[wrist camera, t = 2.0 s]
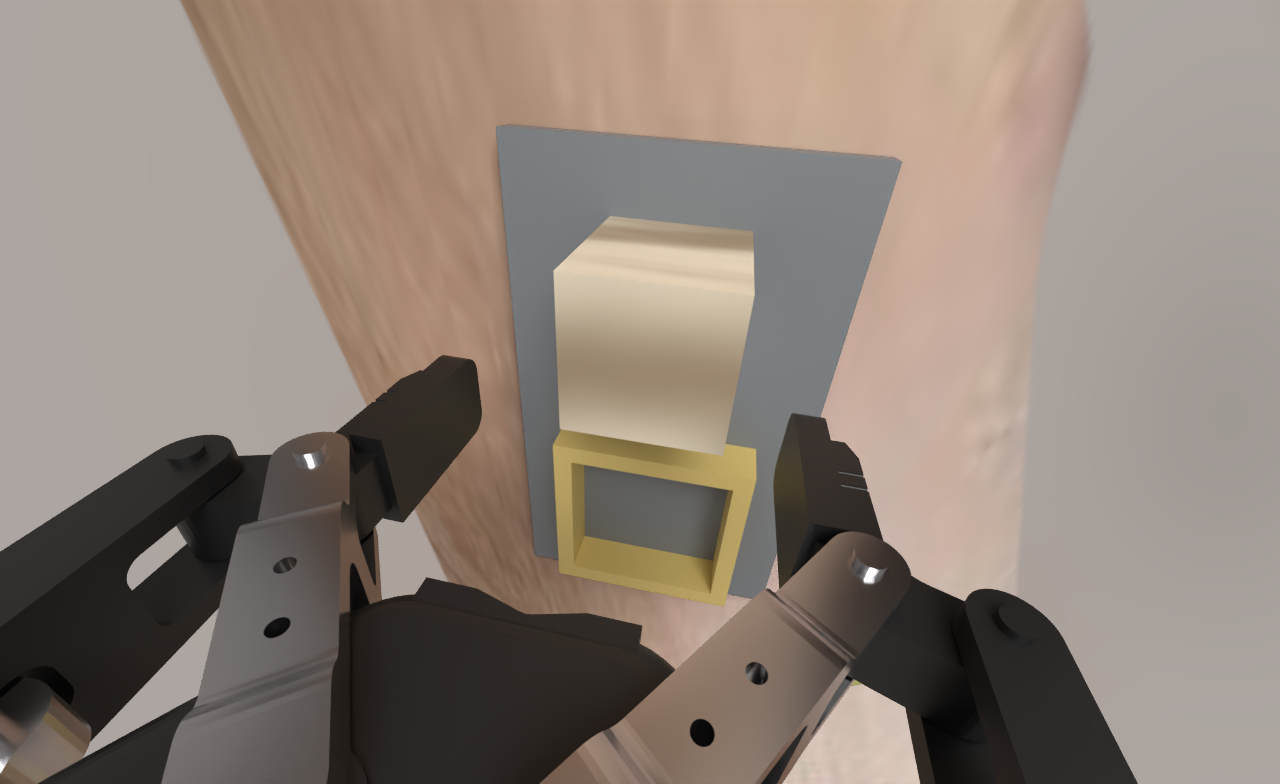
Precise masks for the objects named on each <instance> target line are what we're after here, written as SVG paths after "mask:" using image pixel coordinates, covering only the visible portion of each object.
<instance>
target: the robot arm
mask: <svg viewBox="0 0 1280 784" xmlns="http://www.w3.org/2000/svg"><path fill="white" fill-rule="evenodd" d="M481 416H482V408H481V400H480V392H479V383H478V375H477V368H476V364H475V362H474V361H473V360H471V359H465V358H459V357H452V356H446V355H442V356H440V357H439V358H438V359H436V360H435V361H434V362H433V363H432V364H431V365H429V366H428V367H427V368H426V369H425V370H423V371H421V370H420V371H418V372H416V373H413V374H411V375H409V376H407V377H404V378H402V379H400V380H399V381H398V382H397V383H395V384H394V385H393V386H392V387H390V388H389V389H388V390H387V393H383V394H382V395H381V396H379V397H378V398H377V399H376V402H372V403H371V404H370V405H368V406H367V407H366V408H365V409H364V410H363V411H361V412H360V413H359V414H357V415H356V416H355V417H354V418H353V419H351V420H350V421H349V422H348V423H346V425H344V426H343V427H341V428H340V429H339V430H338V431H337V432H335V433H333V432H317V433H311V434H306V435H303V436H300V437H297V438H295V439H292V440H290V441H288V442H286V443H285V444H284V445H282V446H280V447H279V448H278V449H277V450H276V451H275V452H274V453H273V454H272V455H254V456H253V455H252V456H238V455H237V453H236V450H235V448H234V446H233V444H232V442H231V441H230V440H229V439H228V438H226V437H224V436H219V435H202V436H195V437H190V438H186V439H182V440H179V441H176V442H174V443H171V444H169V445H167V446H165V447H163V448H161V449H159V450H157V451H156V452H154V453H153V454H151V455H150V456H148V457H146V458H145V459H143V460H142V461H140V462H139V463H137V464H135V465H134V466H132V467H131V468H129V469H128V470H126V471H125V472H123V473H122V474H120V475H118V476H117V477H115V478H114V479H112V480H111V481H109V482H108V483H106V484H105V485H103V486H101V487H100V488H98V489H97V490H95V491H94V492H92V493H91V494H89V495H87V496H86V497H84V498H83V499H81V500H80V501H78V502H77V503H75V504H74V505H72V506H70V507H69V508H67V509H66V510H64V511H63V512H61V513H60V514H58V515H57V516H55V517H53V518H52V519H50V520H49V521H47V522H46V523H44V524H43V525H41V526H39V527H38V528H36V529H35V530H33V531H32V532H30V533H29V534H27V535H25V536H24V537H22V538H21V539H19V540H18V541H16V542H15V543H13V544H12V545H10V546H9V547H7V548H5V549H4V550H2V551H1V552H0V784H782V783H783V781H784V780H785V779H786V777H787V776H788V774H789V773H790V771H791V770H792V768H793V767H794V765H795V763H796V762H797V760H798V759H799V757H800V756H801V754H802V753H803V751H804V750H805V748H806V747H807V745H808V744H809V743H810V741H811V740H812V738H813V737H814V736H815V734H816V733H817V732H818V730H819V729H820V727H821V726H822V725H823V723H824V722H825V721H826V719H827V718H828V716H829V715H830V714H831V712H832V711H833V710H834V708H835V707H836V705H837V704H838V703H839V701H840V700H841V699H842V697H843V696H844V694H845V693H846V692H847V690H848V689H849V688H850V686H851V685H852V683H853V682H854V681H855V680H856V681H858V682H860V683H862V684H863V685H865V686H867V687H869V688H871V689H873V690H874V691H876V692H878V693H880V694H882V695H884V696H885V697H887V698H889V699H891V700H893V701H895V702H896V703H898V704H900V705H902V706H904V707H905V708H906V713H907V718H908V723H909V728H910V733H911V739H912V744H913V749H914V754H915V759H916V764H917V769H918V774H919V779H920V784H1138V783H1137V781H1136V779H1135V777H1134V775H1133V773H1132V771H1131V770H1130V768H1129V766H1128V764H1127V762H1126V760H1125V758H1124V756H1123V754H1122V752H1121V750H1120V748H1119V746H1118V744H1117V742H1116V740H1115V738H1114V736H1113V735H1112V732H1111V731H1110V729H1109V727H1108V725H1107V723H1106V721H1105V719H1104V717H1103V715H1102V713H1101V711H1100V709H1099V707H1098V705H1097V703H1096V701H1095V700H1094V697H1093V695H1092V694H1091V692H1090V690H1089V688H1088V686H1087V684H1086V682H1085V680H1084V678H1083V676H1082V674H1081V672H1080V670H1079V668H1078V666H1077V664H1076V662H1075V660H1074V658H1073V656H1072V655H1071V653H1070V651H1069V649H1068V647H1067V645H1066V643H1065V641H1064V639H1063V637H1062V636H1061V634H1060V633H1059V631H1058V630H1057V628H1056V627H1055V626H1054V625H1053V624H1052V623H1051V622H1050V621H1049V620H1048V618H1047V617H1045V616H1044V615H1043V614H1042V613H1041V612H1040V611H1038V610H1037V609H1036V608H1034V607H1033V606H1031V605H1030V604H1028V603H1027V602H1025V601H1024V600H1022V599H1020V598H1018V597H1016V596H1013V595H1011V594H1009V593H1006V592H1003V591H999V590H994V589H979V590H976V591H973V592H972V593H971V594H969V596H968V597H967V599H966V600H965V601H963V600H960V599H958V598H956V597H954V596H951V595H949V594H947V593H945V592H942V591H940V590H938V589H936V588H933V587H931V586H929V585H927V584H925V583H923V582H921V581H919V580H918V579H916V578H914V577H913V576H911V572H910V569H909V567H908V565H907V563H906V561H905V560H904V558H903V557H902V556H901V555H900V554H899V553H898V552H897V551H896V550H895V549H894V548H893V547H892V546H890V545H889V544H887V543H886V542H884V541H883V538H882V535H881V531H880V528H879V525H878V521H877V518H876V515H875V511H874V508H873V505H872V501H871V498H870V495H869V492H867V489H868V488H867V485H866V481H865V478H863V471H862V468H861V465H860V461H859V458H858V457H857V456H856V455H855V454H854V452H853V451H852V450H851V449H850V448H849V447H848V446H847V444H846V443H844V442H838V441H832V440H831V439H830V435H829V431H828V427H827V422H826V419H825V418H821V417H815V416H809V415H803V414H797V413H792V414H791V416H790V418H789V421H788V425H787V428H786V431H785V435H784V438H783V442H782V445H781V449H780V452H779V456H778V459H777V463H776V467H775V473H774V481H773V492H774V509H775V526H776V542H777V559H778V575H779V590H778V591H777V592H775V593H774V592H772V591H771V590H770V589H764V590H763V591H761V592H760V593H758V594H757V595H756V596H755V597H754V598H753V599H752V600H751V601H749V602H748V603H747V604H746V605H745V606H744V607H743V608H742V609H741V610H740V611H739V612H738V613H737V614H735V615H734V616H733V617H732V618H731V619H730V620H729V621H728V622H727V623H726V624H725V625H724V626H723V627H721V628H720V629H719V630H718V631H717V632H716V633H715V634H714V635H713V636H712V637H711V638H710V639H709V640H707V641H706V642H705V643H704V644H703V645H702V646H701V647H700V648H699V649H698V650H697V651H696V652H694V653H693V654H692V655H691V656H690V657H689V658H688V659H687V660H686V661H685V662H684V663H683V664H682V665H680V666H679V667H678V668H677V669H676V670H675V669H674V668H673V667H672V666H671V665H670V664H669V663H668V662H666V661H665V660H664V659H663V658H662V657H660V656H659V655H657V654H656V653H655V652H653V651H652V650H650V649H648V648H646V647H645V646H643V645H641V644H640V640H641V632H642V626H641V625H637V624H632V623H628V622H623V621H619V620H615V619H610V618H606V617H601V616H597V615H592V614H588V613H579V614H534V615H531V614H524V613H522V612H519V611H518V610H516V609H514V608H512V607H510V606H508V605H506V604H505V603H503V602H501V601H499V600H497V599H495V598H493V597H492V596H490V595H488V594H486V593H484V592H482V591H480V590H479V589H476V588H472V587H467V586H463V585H458V584H454V583H449V582H445V581H440V580H436V579H431V578H426V579H425V580H424V582H423V584H422V585H421V586H420V588H419V589H418V591H417V592H416V594H414V595H404V596H397V597H393V598H389V599H385V600H382V596H381V582H380V565H379V549H378V535H377V531H376V528H375V526H376V525H377V524H378V523H379V521H380V520H381V519H382V518H384V519H388V520H393V521H398V522H404V521H405V520H406V519H407V517H408V516H409V515H410V514H411V512H412V511H413V510H414V509H415V507H416V506H417V505H418V504H419V503H420V501H421V500H422V499H423V498H424V496H425V495H426V494H427V493H428V491H429V490H430V489H431V488H432V486H433V485H434V484H435V483H436V481H437V480H438V479H439V478H440V477H441V475H442V474H443V473H444V472H445V470H446V469H447V468H448V467H449V465H450V464H451V463H452V462H453V460H454V459H455V458H456V457H457V456H458V454H459V453H460V452H461V451H462V449H463V448H464V447H465V446H466V444H467V443H468V442H469V441H470V439H471V438H472V437H473V436H474V434H475V433H476V432H477V430H478V428H479V425H480V422H481ZM175 526H177V528H178V529H179V531H180V533H181V534H182V536H183V538H184V539H185V540H186V542H187V544H186V545H185V546H184V547H183V548H181V549H180V550H179V551H178V552H177V553H176V554H174V555H173V556H172V557H171V558H170V559H169V560H167V561H166V562H165V563H164V564H163V565H162V566H160V567H159V568H158V569H157V570H156V571H155V572H153V573H152V574H151V575H150V576H149V577H148V578H146V579H145V580H144V581H143V582H142V583H141V584H139V585H138V586H137V587H136V588H135V589H134V590H131V589H130V588H129V586H128V584H127V573H128V570H129V568H130V566H131V564H132V563H133V561H134V560H135V559H136V558H137V557H138V556H139V555H140V554H141V553H143V552H144V551H145V550H146V549H148V548H149V547H150V546H151V545H153V544H154V543H155V542H156V541H158V540H159V539H160V538H161V537H163V536H164V535H165V534H166V533H167V532H168V531H170V530H171V529H172V528H174V527H175ZM218 608H219V610H218V614H217V619H216V623H215V627H214V631H213V636H212V640H211V644H210V648H209V653H208V657H207V661H206V665H205V669H204V674H203V678H202V682H201V686H200V690H199V695H198V696H196V697H195V698H193V699H191V700H189V701H187V702H185V703H184V704H182V705H180V706H178V707H176V708H174V709H172V710H171V711H169V712H167V713H165V714H163V715H161V716H160V717H158V718H156V719H154V720H152V721H151V722H149V723H147V724H145V725H143V726H141V727H139V728H138V729H136V730H134V731H132V732H130V733H129V734H127V735H125V736H123V737H121V738H119V739H118V740H116V741H114V742H112V743H110V744H108V745H106V746H105V747H103V748H101V749H100V750H97V751H95V752H94V753H92V754H90V755H88V756H86V757H85V758H83V756H84V755H85V753H86V751H87V749H88V746H89V743H90V741H92V739H93V738H94V737H95V736H96V735H97V734H98V733H99V732H100V731H101V730H102V729H103V728H104V727H105V726H106V725H107V724H108V723H109V722H110V721H111V719H112V718H114V717H115V715H116V714H117V713H118V712H119V711H120V710H121V709H122V708H123V707H124V706H125V705H126V704H127V703H128V702H129V701H130V700H131V699H132V698H133V697H134V696H135V695H136V694H137V692H138V691H139V690H140V689H141V688H142V687H143V686H144V685H145V684H146V683H147V682H148V681H149V680H150V679H151V678H152V677H153V676H154V675H155V674H156V673H157V672H158V670H160V668H161V667H162V666H163V665H164V664H165V663H166V662H167V661H168V660H169V659H170V658H171V657H172V656H173V655H174V654H175V653H176V652H177V651H178V650H179V649H180V648H181V646H183V645H184V644H185V642H186V641H187V640H188V639H189V638H190V637H191V636H192V635H193V634H194V633H195V632H196V631H197V630H198V629H199V628H200V627H201V626H202V625H203V624H204V623H205V622H206V621H207V620H208V618H209V617H210V616H211V615H212V614H213V613H214V612H215V611H216V610H217V609H218ZM82 758H83V759H82Z"/></svg>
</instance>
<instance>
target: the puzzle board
mask: <svg viewBox="0 0 1280 784" xmlns="http://www.w3.org/2000/svg"><path fill="white" fill-rule="evenodd" d="M496 134H497V145H498V155H499V166H500V177H501V188H502V199H503V210H504V221H505V232H506V243H507V254H508V265H509V276H510V287H511V298H512V309H513V320H514V331H515V341H516V352H517V363H518V374H519V385H520V396H521V407H522V418H523V429H524V440H525V451H526V462H527V473H528V484H529V495H530V506H531V517H532V527H533V538H534V549H535V555H536V556H541V557H546V558H551V559H556V560H559V573H562V574H567V575H572V576H577V577H581V578H586V579H591V580H596V581H601V582H606V583H611V584H616V585H621V586H626V587H630V588H635V589H640V590H645V591H650V592H655V593H660V594H665V595H670V596H674V597H679V598H684V599H689V600H694V601H699V602H704V603H709V604H714V605H719V606H723V607H724V605H725V602H726V598H727V594H730V595H735V596H740V597H745V598H750V599H753V598H754V597H755V596H756V595H757V594H758V593H760V592H761V591H763V590H764V589H765V588H766V585H767V582H768V578H769V575H770V572H771V569H772V566H773V563H774V560H775V557H776V554H777V542H776V526H775V509H774V492H773V481H774V473H775V467H776V463H777V459H778V456H779V452H780V449H781V445H782V442H783V438H784V435H785V431H786V428H787V425H788V421H789V418H790V416H791V414H792V413H797V414H803V415H809V416H815V417H820V416H821V413H822V410H823V407H824V404H825V401H826V398H827V395H828V392H829V388H830V385H831V382H832V379H833V376H834V373H835V370H836V367H837V363H838V360H839V357H840V354H841V351H842V348H843V345H844V342H845V339H846V335H847V332H848V329H849V326H850V323H851V320H852V317H853V314H854V311H855V307H856V304H857V301H858V298H859V295H860V292H861V289H862V286H863V282H864V279H865V276H866V273H867V270H868V267H869V264H870V261H871V258H872V254H873V251H874V248H875V245H876V242H877V239H878V236H879V233H880V230H881V226H882V223H883V220H884V217H885V214H886V211H887V208H888V205H889V201H890V198H891V195H892V192H893V189H894V186H895V183H896V180H897V177H898V173H899V170H900V167H901V164H902V161H900V160H898V159H896V158H895V157H885V156H873V155H861V154H850V153H838V152H826V151H814V150H803V149H791V148H779V147H767V146H756V145H744V144H732V143H720V142H709V141H697V140H685V139H674V138H662V137H650V136H638V135H627V134H615V133H603V132H591V131H580V130H568V129H556V128H544V127H533V126H521V125H509V124H508V125H502V126H496ZM610 216H614V217H624V218H633V219H642V220H652V221H661V222H670V223H680V224H689V225H698V226H708V227H717V228H726V229H736V230H745V231H753V245H754V288H755V296H754V301H753V307H752V312H751V317H750V322H749V327H748V332H747V337H746V342H745V347H744V352H743V357H742V362H741V367H740V373H739V378H738V383H737V388H736V393H735V398H734V403H733V408H732V413H731V418H730V423H729V428H728V433H727V439H726V444H725V449H724V454H723V456H720V455H714V454H707V453H701V452H695V451H689V450H683V449H677V448H671V447H665V446H659V445H653V444H647V443H641V442H635V441H629V440H623V439H617V438H611V437H605V436H599V435H593V434H587V433H581V432H575V431H569V430H563V429H560V422H559V397H558V372H557V348H556V323H555V298H554V273H553V271H554V270H555V269H556V268H557V267H558V266H559V265H560V264H561V263H562V262H563V261H564V260H565V259H566V258H567V257H568V256H569V255H570V254H571V253H572V252H573V251H574V250H575V249H576V248H577V247H579V246H580V245H581V244H582V243H583V242H584V241H585V240H586V239H587V238H588V237H589V236H590V235H591V234H592V233H593V232H594V231H595V230H596V229H597V228H598V227H599V226H600V225H601V224H602V223H603V222H604V221H606V220H607V219H608V218H609V217H610Z"/></svg>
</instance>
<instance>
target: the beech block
mask: <svg viewBox="0 0 1280 784" xmlns="http://www.w3.org/2000/svg"><path fill="white" fill-rule="evenodd" d="M553 273H554V298H555V323H556V348H557V372H558V397H559V422H560V429H563V430H569V431H575V432H581V433H587V434H593V435H599V436H605V437H611V438H617V439H623V440H629V441H635V442H641V443H647V444H653V445H659V446H665V447H671V448H677V449H683V450H689V451H695V452H701V453H707V454H714V455H720V456H723V454H724V449H725V444H726V439H727V433H728V428H729V423H730V418H731V413H732V408H733V403H734V398H735V393H736V388H737V383H738V378H739V373H740V367H741V362H742V357H743V352H744V347H745V342H746V337H747V332H748V327H749V322H750V317H751V312H752V307H753V301H754V296H755V288H754V245H753V231H745V230H736V229H726V228H717V227H708V226H698V225H689V224H680V223H670V222H661V221H652V220H642V219H633V218H624V217H614V216H610V217H609V218H608V219H607V220H606V221H604V222H603V223H602V224H601V225H600V226H599V227H598V228H597V229H596V230H595V231H594V232H593V233H592V234H591V235H590V236H589V237H588V238H587V239H586V240H585V241H584V242H583V243H582V244H581V245H580V246H579V247H577V248H576V249H575V250H574V251H573V252H572V253H571V254H570V255H569V256H568V257H567V258H566V259H565V260H564V261H563V262H562V263H561V264H560V265H559V266H558V267H557V268H556V269H555V270H554V271H553Z"/></svg>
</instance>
